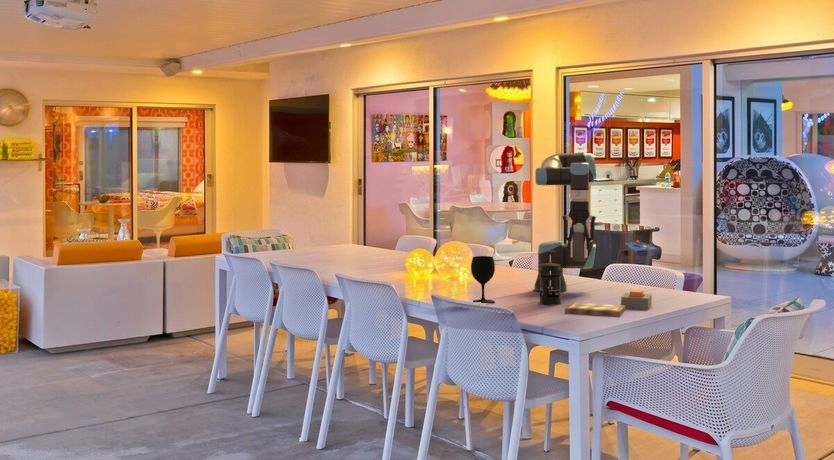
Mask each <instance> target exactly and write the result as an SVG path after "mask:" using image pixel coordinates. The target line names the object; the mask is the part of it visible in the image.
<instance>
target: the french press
mask: <svg viewBox="0 0 834 460" xmlns="http://www.w3.org/2000/svg"><path fill="white" fill-rule="evenodd" d="M545 252H549V255H550V263H545V264H540V266H541V270H544V271H550V274H548V275H540V292H539V302H538V303H539V304H540V305H543V306H559V305H562V300H561V299H562V297H561V295H562V292H561V276H560V275H551V271H558V270H560V266H561V265H560V264H555V263H551V253H552V252H555V251H552V250H548V251H545ZM542 280H543V288H542ZM549 280H550V286H549ZM551 280H552V287H551ZM556 280H559V288H556ZM542 291H543V292H542ZM549 291H552V292H551V293H550V292H549ZM556 291H559V292H558V294H557V292H556Z"/></svg>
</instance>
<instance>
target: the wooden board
mask: <svg viewBox="0 0 834 460" xmlns="http://www.w3.org/2000/svg"><path fill="white" fill-rule="evenodd" d="M625 311H626V308H625V306H624V305H621V304H604V303H603V304H602V303H589V302H588V303H586V302H585V303H584V302H571V303H569V305H567V306H566V307H565V308H564V314H573V315H574V314H575V315H589V316H590V315H591V316H593V315H594V316H603V317H604V316H605V317H609V316H610V317H621V316H622V315H624V313H625Z"/></svg>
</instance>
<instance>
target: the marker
mask: <svg viewBox="0 0 834 460" xmlns="http://www.w3.org/2000/svg"><path fill="white" fill-rule="evenodd" d="M584 242H585V233H584V225H582V224H575V225H573V261H578V262H581V261H585V258H584Z"/></svg>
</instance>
